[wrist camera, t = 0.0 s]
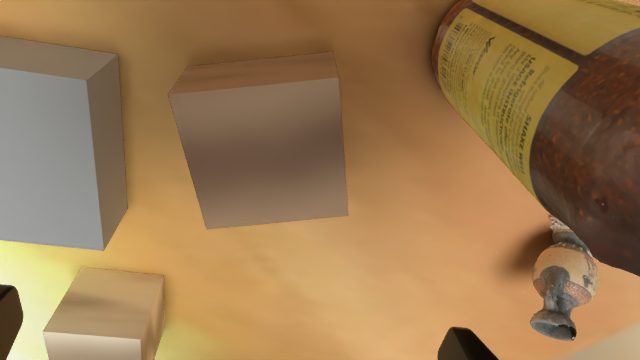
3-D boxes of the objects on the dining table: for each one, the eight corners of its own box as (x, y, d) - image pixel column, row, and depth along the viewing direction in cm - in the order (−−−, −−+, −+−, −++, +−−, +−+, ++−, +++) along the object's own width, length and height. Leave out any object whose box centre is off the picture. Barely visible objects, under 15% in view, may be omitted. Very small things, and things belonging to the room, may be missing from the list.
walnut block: (341, 173, 25) (348, 215, 22) (219, 185, 25) (206, 229, 22) (332, 50, 21) (338, 77, 18) (188, 64, 21) (167, 94, 18)
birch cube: (164, 326, 31) (143, 393, 27) (89, 320, 30) (55, 387, 26) (164, 274, 28) (140, 339, 24) (82, 266, 28) (43, 331, 23)
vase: (517, 293, 30) (556, 367, 25) (482, 240, 28) (517, 309, 23) (595, 258, 29) (654, 329, 24) (565, 199, 27) (622, 263, 22)
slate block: (129, 205, 26) (103, 250, 22) (-39, 185, 25) (-93, 230, 21) (120, 52, 21) (86, 80, 18) (-87, 19, 20) (-167, 43, 17)
